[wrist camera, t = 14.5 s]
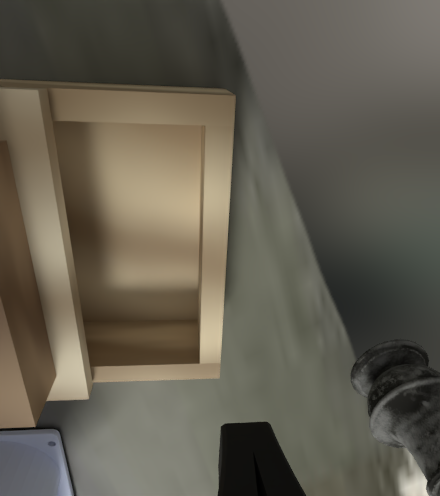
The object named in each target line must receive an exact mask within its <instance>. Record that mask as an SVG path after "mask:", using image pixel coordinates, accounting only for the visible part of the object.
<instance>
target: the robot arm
mask: <svg viewBox="0 0 440 496" xmlns="http://www.w3.org/2000/svg"><path fill="white" fill-rule="evenodd" d="M218 468H219V490H218V496H306V494H305V493H304V491H303V489H302V487H301V486H300V484H299V482H298V480H297V478H296V477H295V475H294V473H293V471H292V469H291V467H290V465H289V463H288V461H287V459H286V458H285V456H284V453H283V451H282V449H281V447H280V445H279V443H278V441H277V439H276V437H275V434H274V432H273V430H272V427H271V425H270V424H269V423H268V422H250V423H228V424H224V425H223V426H221V435H220V450H219V465H218ZM0 496H74V493H73V489H72V484H71V480H70V476H69V471H68V467H67V463H66V458H65V454H64V449H63V445H62V441H61V436H60V433H59V432H58V431H57V430H55V429H38V430H16V431H0Z"/></svg>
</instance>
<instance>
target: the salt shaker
mask: <svg viewBox="0 0 440 496" xmlns="http://www.w3.org/2000/svg"><path fill="white" fill-rule="evenodd" d="M428 362H429V360H428V355H427V353H426V352H425V350H424V349H423V348H422V346H420V345H418V344H417V343H415V342H412V341H408V340H393V341H387V342H384V343H381V344H379V345H376V346H374V347H372V348H371V349H369V350H368V351H366V352H365V353H364V354H363V355H362V356H361V357H360V358H359V359H358V360H357V362H356V363H355V365H354V366H353V369H352V372H351V383H352V385H353V388H354V389H355V390H356V391H357V392H358V393H359V394H360V395H362V396H364V397H366V398H368V414H369V416H370V423H369V427H370V430H371V432H372V435H373V436H374V437H375V438H376V439H377V440H378V441H379V442H381V443H383V444H385V445H387V446H391V447H396V448H407V449H408V450H409V452H410V453H411V454H412V455H413V457H414V458H415V460H416V462H417V464H418V465H419V467H420V469H421V470H422V472H423V474H424V476H425V477H426V479H427V481H428V482H427V487H426V490H427V493H428V495H429V496H440V373H439V372H438V371H436V370H434V369H432V368H430V367H428Z"/></svg>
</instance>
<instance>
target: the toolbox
mask: <svg viewBox="0 0 440 496" xmlns="http://www.w3.org/2000/svg"><path fill="white" fill-rule="evenodd" d="M0 87H23V88H47V92H48V99H49V105H50V112H51V118H52V124H53V131H54V137H55V144H56V150H57V157H58V163H59V170H60V176H61V183H62V189H63V196H64V202H65V209H66V215H67V221H68V228H69V234H70V241H71V247H72V254H73V260H74V267H75V273H76V280H77V286H78V293H79V299H80V306H81V312H82V318H83V325H84V331H85V338H86V344H87V351H88V357H89V364H90V370H91V377H92V382H121V381H151V380H181V379H211V378H220V361H221V344H222V327H223V309H224V292H225V275H226V258H227V240H228V223H229V206H230V189H231V171H232V154H233V137H234V120H235V103H236V95H234V94H232V93H231V92H229V91H228V90H226V89H224V88H200V87H177V86H153V85H130V84H106V83H82V82H59V81H35V80H12V79H0Z"/></svg>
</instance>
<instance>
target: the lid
mask: <svg viewBox="0 0 440 496" xmlns="http://www.w3.org/2000/svg"><path fill="white" fill-rule="evenodd" d="M92 387H93V383H92V377H91V370H90V364H89V357H88V351H87V344H86V338H85V331H84V325H83V318H82V312H81V306H80V299H79V293H78V286H77V280H76V273H75V267H74V260H73V254H72V247H71V241H70V234H69V228H68V221H67V215H66V209H65V202H64V196H63V189H62V183H61V176H60V170H59V163H58V157H57V150H56V144H55V137H54V131H53V124H52V118H51V112H50V105H49V99H48V92H47V88H23V87H0V428H20V427H36V425H37V422H38V420H39V417H40V415H41V412H42V410H43V408H44V405H45V403H46V401H59V400H86V399H89V397H90V394H91V390H92Z"/></svg>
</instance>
